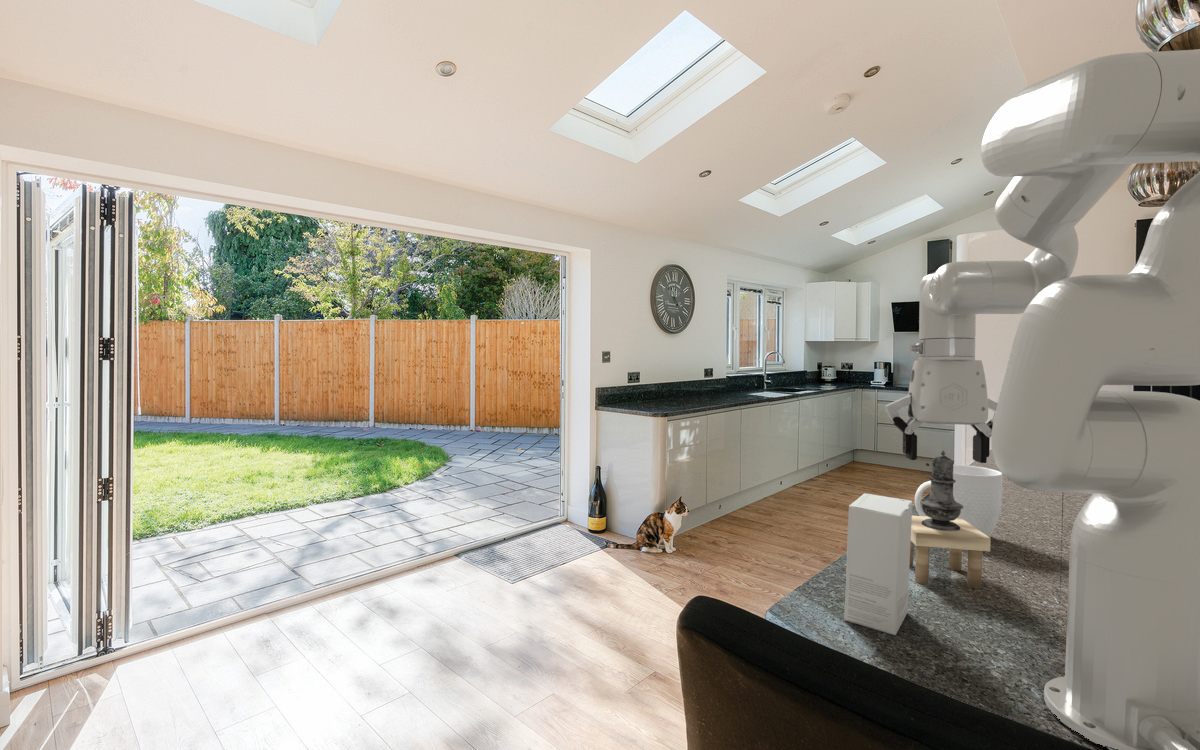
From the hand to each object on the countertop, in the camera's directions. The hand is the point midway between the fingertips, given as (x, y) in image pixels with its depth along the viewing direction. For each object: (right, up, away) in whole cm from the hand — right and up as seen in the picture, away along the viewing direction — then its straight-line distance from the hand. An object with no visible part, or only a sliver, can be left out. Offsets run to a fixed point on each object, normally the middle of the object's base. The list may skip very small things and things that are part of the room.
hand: (944, 460), depth 87 cm
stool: (0, -19, +1) cm, 19 cm away
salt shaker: (0, -11, +1) cm, 11 cm away
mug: (+16, -18, +21) cm, 32 cm away
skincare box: (-17, -19, -13) cm, 29 cm away
